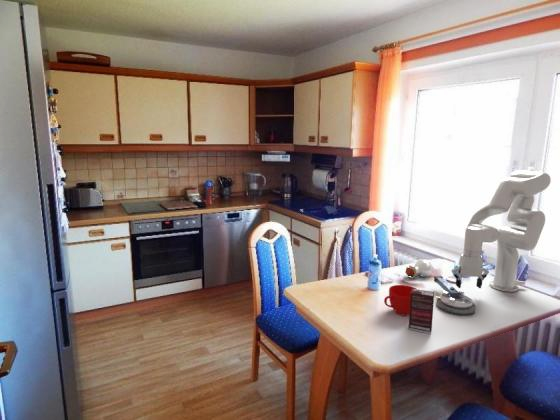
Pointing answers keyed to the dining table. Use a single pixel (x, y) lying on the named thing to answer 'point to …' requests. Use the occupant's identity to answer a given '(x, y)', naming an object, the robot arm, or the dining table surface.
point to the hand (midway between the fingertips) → (468, 287)
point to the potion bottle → (420, 268)
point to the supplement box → (421, 310)
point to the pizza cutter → (453, 295)
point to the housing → (455, 311)
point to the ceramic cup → (400, 298)
